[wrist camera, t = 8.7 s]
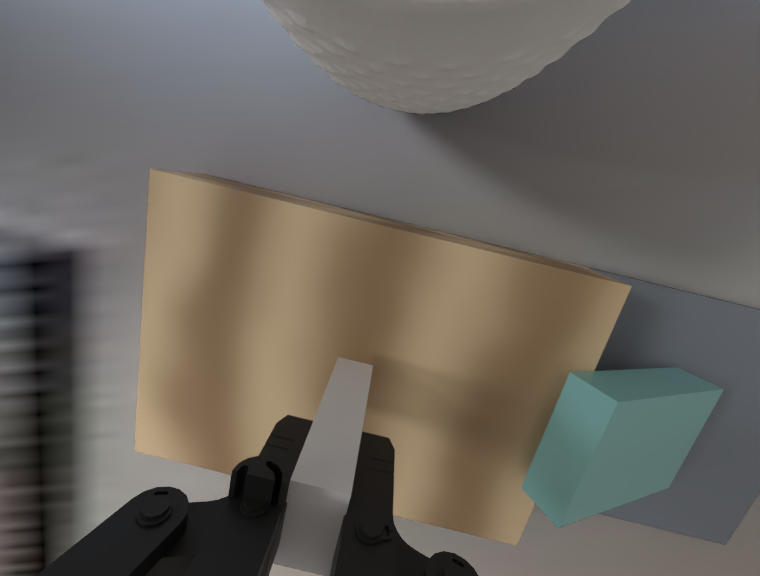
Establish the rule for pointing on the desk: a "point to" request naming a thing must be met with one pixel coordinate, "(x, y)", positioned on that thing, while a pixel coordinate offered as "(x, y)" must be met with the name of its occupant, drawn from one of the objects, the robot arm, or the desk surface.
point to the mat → (726, 421)
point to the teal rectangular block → (616, 439)
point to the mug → (437, 45)
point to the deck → (359, 341)
